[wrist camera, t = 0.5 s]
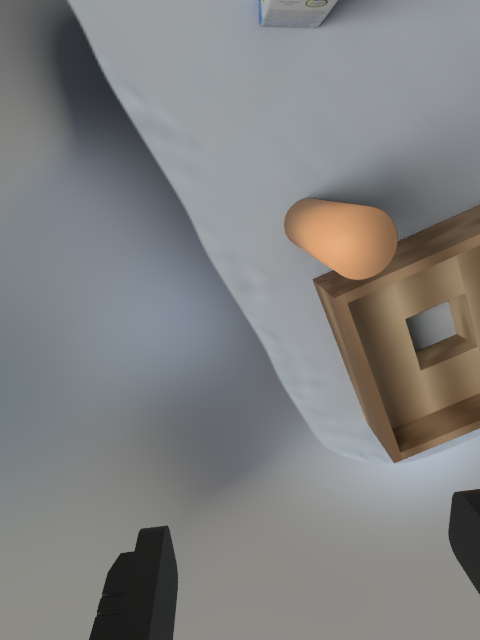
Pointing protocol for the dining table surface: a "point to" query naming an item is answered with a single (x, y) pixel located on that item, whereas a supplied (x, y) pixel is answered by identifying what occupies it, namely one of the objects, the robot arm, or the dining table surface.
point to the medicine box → (294, 12)
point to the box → (395, 342)
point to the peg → (343, 236)
